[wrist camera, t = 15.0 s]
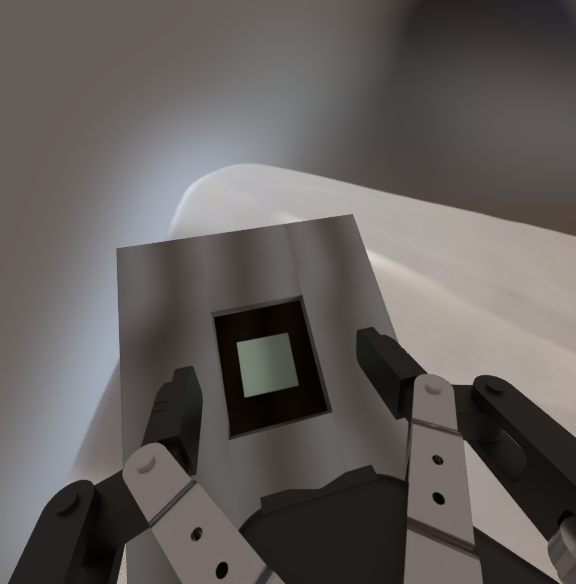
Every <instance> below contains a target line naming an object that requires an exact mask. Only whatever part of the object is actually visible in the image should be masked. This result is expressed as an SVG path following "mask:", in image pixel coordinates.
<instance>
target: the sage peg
mask: <svg viewBox="0 0 576 584" xmlns="http://www.w3.org/2000/svg"><path fill="white" fill-rule="evenodd" d="M237 348H238V355H239V362H240V369H241V375H242V382H243V389H244V396H245V397H250V396H254V395H259V394H263V393H268V392H272V391H277V390H281V389H285V388H290V387H294V386H299V385H298V380H297V375H296V370H295V365H294V361H293V356H292V351H291V346H290V341H289V337H288V333H284V334H279V335H274V336H269V337H263V338H258V339H253V340H248V341H243V342H237Z"/></svg>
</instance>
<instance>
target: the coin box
mask: <svg viewBox="0 0 576 584" xmlns="http://www.w3.org/2000/svg"><path fill="white" fill-rule="evenodd" d="M117 280H118V311H119V343H120V374H121V405H122V436H123V467H124V466H125V464H126V462H127V460H128V459H129V458H130V456H131V455H132V454H133V453H134V452H136V451H137V450H138V449H140V447H141V444H142V441H143V438H144V434H145V431H146V427H147V424H148V421H149V417H150V414H151V411H152V407H153V405H154V400H155V397H156V394H157V392H158V391H159V390H160V388H161V387H162V386H163V384H164V383H168V382H172V378H173V374H174V370H175V369H178V368H183V367H187V366H193V367H194V369H195V372H196V375H197V378H198V381H199V384H200V387H201V390H202V395H203V408H202V419H201V430H200V441H199V452H198V463H197V474H196V475H193V476H189V477H190V478H191V479H192V480H193V481H194V480H195V481H197V482H198V483H199V484H200V486H201V487H202V488H203V489H204V490H205V492H206V493H207V494H208V495H209V496H210V498H211V499H212V500H213V501H214V502H215V504H216V505H217V506H218V507H219V508H220V510H221V511H222V512H223V513H224V515H225V516H226V517H227V518H228V519H229V521H230V522H231V523H232V524H233V525H234V527H235V528H236V529H237V530H239V528H240V527H241V526H242V524H243V523H244V522H245V521H246V520H247V519H248V518H249V517H250V516H251V515H252V514H253V513H255V512H256V511H257V510H259V509H260V508H261V501H260V498H261V497H264V496H267V495H271V494H274V493H277V492H281V491H284V490H287V489H320V488H322V487H324V486H325V485H327V484H328V483H330V482H331V481H333V480H335V479H336V478H338V477H339V476H341V475H342V474H344V473H345V472H348V471H351V470H354V469H358V468H361V467H364V466H368V465H371V464H372V466H373V468H374V470H375V472H376V474H386V475H390V476H394V477H397V478H399V479H402V480H403V477H404V468H405V456H406V443H407V430H408V421H407V420H406V419H405V418H402V419H399V420H396V419H395V418H394V416H393V415H392V413H391V412H390V410H389V409H388V407H387V406H386V405H385V403H384V402H383V400H382V399H381V397H380V396H379V394H378V393H377V391H376V390H375V388H374V387H373V385H372V384H371V382H370V381H369V379H368V378H367V376H366V375H365V373H364V372H363V370H362V369H361V367H360V366H359V364H358V361H357V357H356V333H357V330H359V329H363V328H368V327H374V328H375V329H376V331H377V332H378V333H379V334H380V335H384V334H385V335H387V336H389V337H391V338H393V339H395V340H396V341H397V342H398V340H397V337H396V334H395V332H394V329H393V326H392V323H391V320H390V318H389V315H388V312H387V309H386V306H385V303H384V301H383V298H382V295H381V292H380V289H379V287H378V284H377V281H376V278H375V275H374V272H373V270H372V267H371V264H370V261H369V258H368V256H367V253H366V250H365V247H364V244H363V241H362V239H361V236H360V233H359V230H358V227H357V225H356V222H355V219H354V216H353V214H350V215H343V216H337V217H330V218H323V219H316V220H309V221H302V222H295V223H289V224H282V225H275V226H268V227H261V228H254V229H247V230H241V231H234V232H227V233H220V234H213V235H206V236H200V237H193V238H186V239H179V240H172V241H165V242H158V243H152V244H145V245H138V246H131V247H124V248H117ZM284 333H288V337H289V341H290V346H291V351H292V356H293V361H294V365H295V370H296V375H297V380H298V385H299V386H294V387H290V388H285V389H281V390H277V391H272V392H268V393H263V394H259V395H254V396H250V397H245V396H244V389H243V382H242V375H241V369H240V362H239V355H238V348H237V342H243V341H248V340H253V339H258V338H263V337H269V336H274V335H279V334H284ZM398 344H399V343H398ZM126 560H127V584H182V582H181V581H180V579H179V577H178V575H177V574H176V572H175V570H174V568H173V567H172V565H171V563H170V561H169V560H168V558H167V556H166V554H165V553H164V551H163V549H162V547H161V546H160V544H159V542H158V540H157V539H156V537H155V535H154V533H153V532H152V530H151V528H149V529H147V530H145V531H144V532H142V533H141V534H139V535H138V536H136V537H135V538H133V539H132V540H130V541H129V542H127V543H126Z"/></svg>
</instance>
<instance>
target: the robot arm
mask: <svg viewBox="0 0 576 584" xmlns="http://www.w3.org/2000/svg"><path fill="white" fill-rule="evenodd" d="M356 357H357V361H358V364H359V366H360V367H361V369H362V370H363V372H364V373H365V375H366V376H367V378H368V379H369V381H370V382H371V384H372V385H373V387H374V388H375V390H376V391H377V393H378V394H379V396H380V397H381V399H382V400H383V402H384V403H385V405H386V406H387V407H388V409H389V410H390V412H391V413H392V415H393V416H394V418H395V419H396V420H399V419H402V418H405V419H406V420H407V421H408V430H407V443H406V456H405V468H404V477H403V480H402V479H399V478H397V477H394V476H390V475H386V474H376V472H375V470H374V468H373V466H372V464H371V465H368V466H364V467H361V468H358V469H354V470H351V471H348V472H345V473H344V474H342V475H341V476H339V477H338V478H336V479H335V480H333V481H331V482H330V483H328V484H327V485H325V486H324V487H322V488H320V489H287V490H284V491H281V492H277V493H274V494H271V495H267V496H264V497H261V498H260V501H261V508H260V509H259V510H257V511H256V512H255V513H253V514H252V515H251V516H250V517H249V518H248V519H247V520H246V521H245V522H244V523H243V524H242V526H241V527H240V528H239V530H237V529H236V528H235V527H234V525H233V524H232V523H231V522H230V521H229V519H228V518H227V517H226V516H225V515H224V513H223V512H222V511H221V510H220V508H219V507H218V506H217V505H216V504H215V502H214V501H213V500H212V499H211V498H210V496H209V495H208V494H207V493H206V492H205V490H204V489H203V488H202V487H201V486H200V484H199V483H198V482H197V481H195V480H194V481H193V480H192V479H191V478H190V477H189V476H193V475H196V474H197V463H198V452H199V441H200V430H201V419H202V408H203V395H202V390H201V387H200V384H199V381H198V378H197V375H196V372H195V369H194V367H193V366H187V367H183V368H178V369H175V370H174V374H173V378H172V382H168V383H164V384H163V386H162V387H161V388H160V390H159V391H158V392H157V394H156V397H155V400H154V405H153V407H152V411H151V414H150V417H149V421H148V424H147V427H146V431H145V434H144V438H143V441H142V444H141V447H140V449H138V450H137V451H136V452H134V453H133V454H132V455H131V456H130V458H129V459H128V460H127V462H126V464H125V466H124V469H122V470H121V471H119V472H118V473H116V474H114V475H112V476H111V477H109V478H107V479H105V480H103V481H101V482H100V483H98V484H96V485H93V483H92V482H91V481H89V480H79V481H76V482H73V483H71V484H69V485H67V486H66V487H64V488H63V489H62V490H60V491H59V492H58V493H57V494H56V495H55V496H54V497H53V498H52V499H51V500H50V501H49V502H48V504H47V505H46V506H45V508H44V509H43V511H42V513H41V515H40V518H39V520H38V522H37V524H36V526H35V528H34V530H33V532H32V534H31V536H30V539H29V541H28V543H27V545H26V547H25V549H24V551H23V553H22V555H21V557H20V559H19V562H18V564H17V566H16V568H15V570H14V572H13V574H12V577H11V578H10V581H9V583H8V584H117V580H118V575H119V570H120V566H121V561H122V556H123V552H124V547H125V544H126V543H127V542H129V541H130V540H132V539H133V538H135V537H136V536H138V535H139V534H141V533H142V532H144V531H145V530H147V529H149V528H151V530H152V532H153V533H154V535H155V537H156V539H157V540H158V542H159V544H160V546H161V547H162V549H163V551H164V553H165V554H166V556H167V558H168V560H169V561H170V563H171V565H172V567H173V568H174V570H175V572H176V574H177V575H178V577H179V579H180V581H181V582H182V584H560V583H558V582H557V581H555V580H554V579H553V578H551V577H550V576H548V575H546V574H545V573H543V572H542V571H540V570H539V569H537V568H536V567H534V566H533V565H531V564H530V563H528V562H527V561H525V560H524V559H522V558H521V557H519V556H518V555H516V554H515V553H513V552H512V551H510V550H509V549H507V548H506V547H504V546H503V545H501V544H500V543H498V542H497V541H495V540H494V539H492V538H491V537H489V536H488V535H486V534H485V533H483V532H482V531H480V530H479V529H477V528H476V527H474V526H473V524H472V515H471V506H470V497H469V488H468V479H467V470H466V461H465V452H464V443H463V440H466V441H467V442H468V443H469V445H470V446H471V447H472V448H473V450H474V451H475V452H476V453H477V454H478V456H479V457H480V458H481V459H482V461H483V462H484V463H485V464H486V466H487V467H488V468H489V469H490V471H491V472H492V473H493V474H494V476H495V477H496V478H497V479H498V481H499V482H500V483H501V484H502V486H503V487H504V488H505V489H506V491H507V492H508V493H509V494H510V495H511V497H512V498H513V499H514V500H515V502H516V503H517V504H518V505H519V507H520V508H521V509H522V510H523V512H524V513H525V514H526V515H527V517H528V518H529V519H530V520H531V522H532V523H533V524H534V525H535V527H536V528H537V529H538V530H539V532H540V533H541V534H542V535H543V536H544V538H545V539H546V540H547V541H548V554H549V557H550V560H551V562H552V564H553V566H554V567H555V569H556V570H557V574H558V577H559V579H560V580H561V582H562V583H563V584H576V438H575V437H574V436H573V435H572V434H571V433H569V432H568V431H567V430H566V429H565V428H563V427H562V426H561V425H560V424H559V423H557V422H556V421H555V420H554V419H552V418H551V417H550V416H549V415H548V414H546V413H545V412H544V411H543V410H542V409H540V408H539V407H538V406H537V405H535V404H534V403H533V402H532V401H531V400H529V399H528V398H527V397H526V396H525V395H523V394H522V393H521V392H520V391H519V390H517V389H516V388H515V387H514V386H512V385H511V384H510V383H508V382H507V381H505V380H503V379H501V378H498V377H495V376H490V375H481V376H478V377H476V378H475V380H474V382H473V385H451V384H450V383H449V382H448V381H447V380H445V379H444V378H442V377H440V376H437V375H433V374H428V373H427V372H426V371H425V370H424V369H423V368H422V367H421V366H420V365H419V364H418V363H417V362H416V361H415V360H414V359H413V358H412V357H411V356H410V355H409V354H408V353H407V352H406V351H405V350H404V349H403V348H401V346H400V345H399V344H398V342H397V341H396V340H395V339H393V338H391V337H389V336H387V335H385V334H384V335H380V334H379V333H378V332H377V331H376V329H375V328H374V327H368V328H363V329H359V330H357V333H356ZM512 439H513V440H514V441H515V442H516V443H517V444H518V445H519V446H520V447H521V448H522V449H521V448H520V447H519V446H518V445H517V444H516V443H515V442H514V441H513V440H512Z"/></svg>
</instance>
